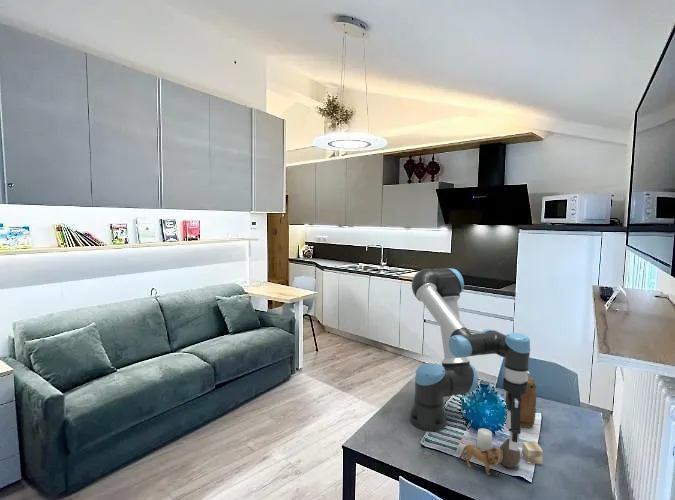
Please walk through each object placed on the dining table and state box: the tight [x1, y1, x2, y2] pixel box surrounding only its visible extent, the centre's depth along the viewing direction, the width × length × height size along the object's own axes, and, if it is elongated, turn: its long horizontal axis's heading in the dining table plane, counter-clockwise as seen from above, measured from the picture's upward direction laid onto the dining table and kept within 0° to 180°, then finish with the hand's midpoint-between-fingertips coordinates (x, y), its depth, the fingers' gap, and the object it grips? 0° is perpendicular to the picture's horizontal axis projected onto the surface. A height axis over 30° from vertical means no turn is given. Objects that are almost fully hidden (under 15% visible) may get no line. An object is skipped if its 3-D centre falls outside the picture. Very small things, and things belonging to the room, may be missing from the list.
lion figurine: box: [456, 444, 503, 476], centre depth 130 cm, size 15×5×9 cm, turn 63°
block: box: [504, 375, 537, 428], centre depth 158 cm, size 11×8×20 cm
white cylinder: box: [476, 427, 493, 451], centre depth 142 cm, size 5×5×6 cm
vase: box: [499, 438, 521, 469], centre depth 132 cm, size 7×7×9 cm
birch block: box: [521, 441, 544, 465], centre depth 135 cm, size 5×5×5 cm
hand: (511, 438), depth 131 cm, fingers open, 13 cm apart
